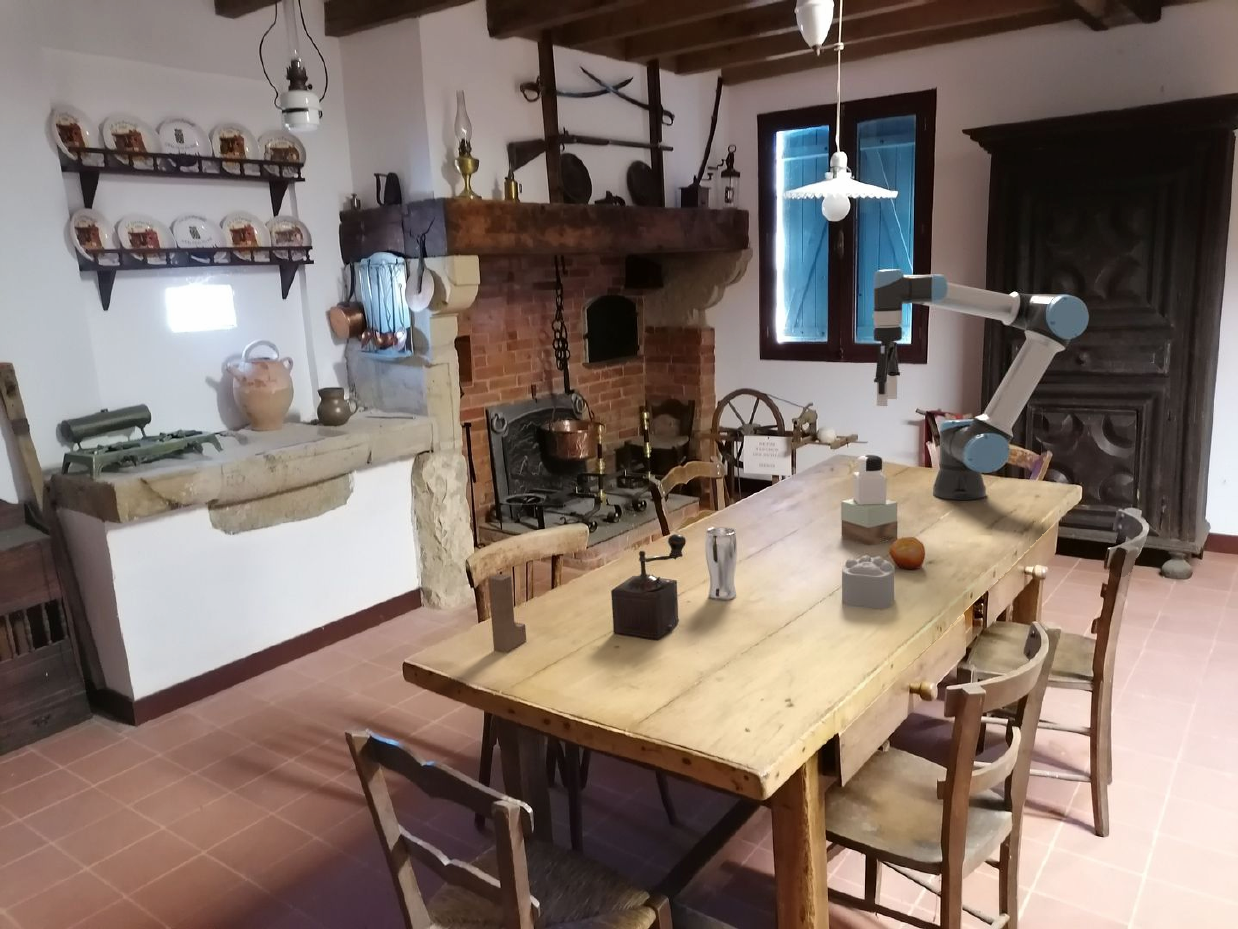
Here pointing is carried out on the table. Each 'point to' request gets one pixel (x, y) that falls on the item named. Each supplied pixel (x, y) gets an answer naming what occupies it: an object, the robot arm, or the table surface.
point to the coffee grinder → (647, 600)
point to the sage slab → (868, 513)
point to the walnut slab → (869, 532)
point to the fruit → (907, 553)
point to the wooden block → (504, 615)
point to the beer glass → (721, 561)
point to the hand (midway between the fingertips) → (887, 402)
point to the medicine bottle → (869, 481)
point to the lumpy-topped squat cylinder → (868, 583)
